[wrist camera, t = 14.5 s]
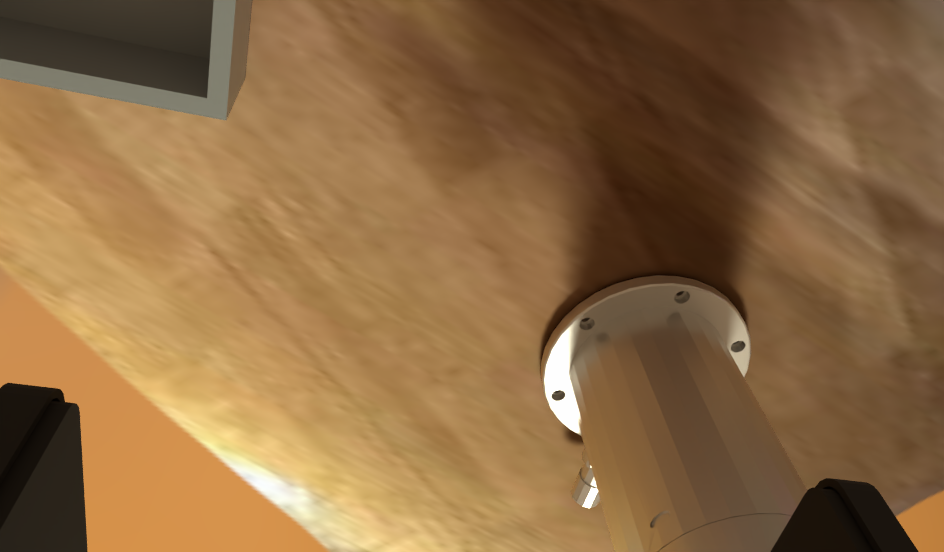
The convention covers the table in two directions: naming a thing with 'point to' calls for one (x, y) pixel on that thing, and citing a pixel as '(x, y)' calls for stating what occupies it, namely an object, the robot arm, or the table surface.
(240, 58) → the bin
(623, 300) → the robot arm
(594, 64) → the table surface
